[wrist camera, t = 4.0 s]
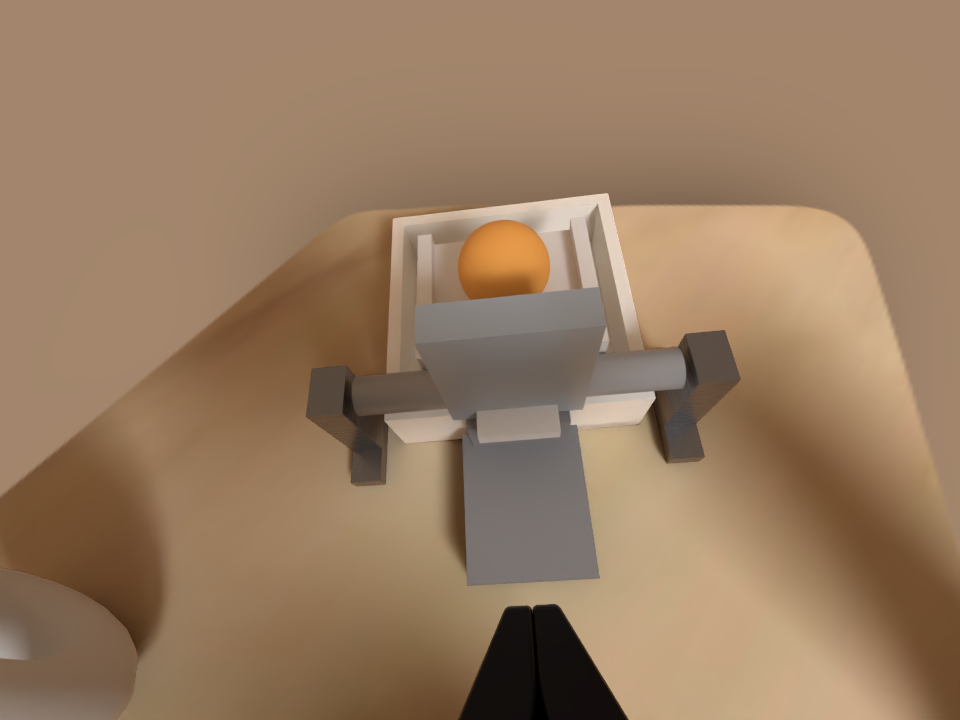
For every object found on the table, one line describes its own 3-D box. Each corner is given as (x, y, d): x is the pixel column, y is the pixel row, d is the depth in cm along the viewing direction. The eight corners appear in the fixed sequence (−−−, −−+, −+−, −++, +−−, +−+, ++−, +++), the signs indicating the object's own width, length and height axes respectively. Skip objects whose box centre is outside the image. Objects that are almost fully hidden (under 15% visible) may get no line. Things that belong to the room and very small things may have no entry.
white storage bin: (638, 424, 22) (655, 398, 18) (405, 443, 22) (384, 420, 19) (599, 238, 27) (607, 193, 23) (409, 259, 27) (393, 218, 24)
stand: (698, 460, 21) (754, 420, 15) (356, 486, 22) (301, 456, 17) (672, 361, 23) (713, 296, 18) (363, 388, 24) (315, 335, 19)
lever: (688, 573, 18) (850, 565, 9) (384, 590, 19) (241, 599, 10) (623, 287, 24) (679, 102, 15) (395, 310, 25) (312, 150, 16)
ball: (553, 326, 18) (557, 272, 15) (466, 334, 18) (452, 283, 15) (543, 255, 20) (545, 193, 17) (462, 264, 20) (449, 205, 17)
